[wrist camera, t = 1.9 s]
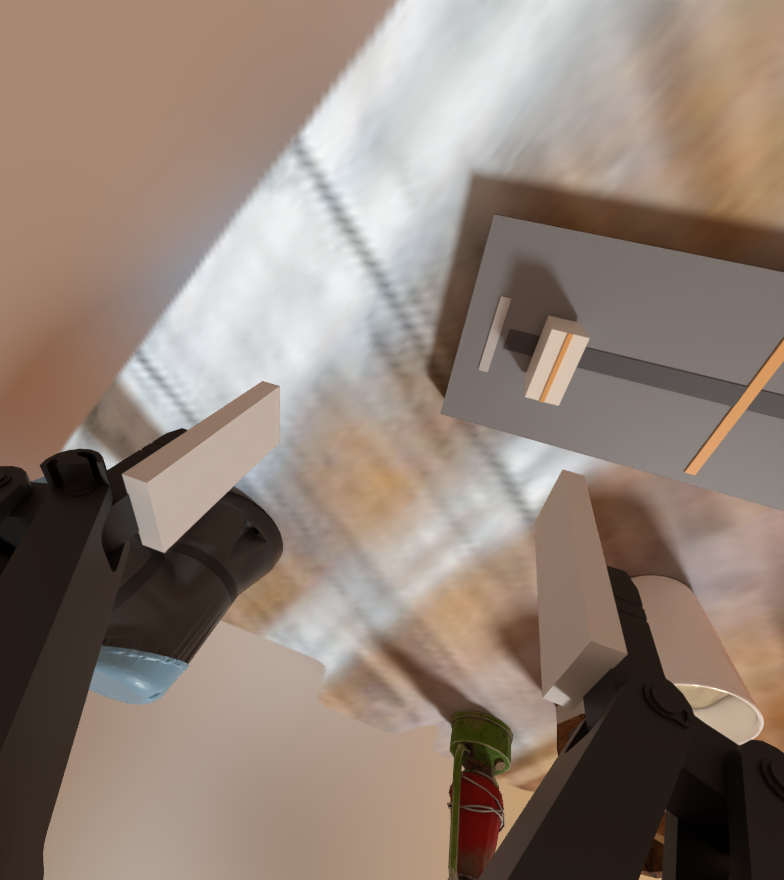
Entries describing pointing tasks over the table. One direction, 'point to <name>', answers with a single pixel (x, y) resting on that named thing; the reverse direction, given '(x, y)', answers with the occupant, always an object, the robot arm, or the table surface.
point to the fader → (555, 360)
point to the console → (632, 356)
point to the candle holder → (697, 658)
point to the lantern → (476, 791)
